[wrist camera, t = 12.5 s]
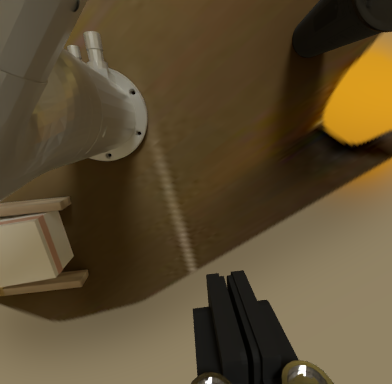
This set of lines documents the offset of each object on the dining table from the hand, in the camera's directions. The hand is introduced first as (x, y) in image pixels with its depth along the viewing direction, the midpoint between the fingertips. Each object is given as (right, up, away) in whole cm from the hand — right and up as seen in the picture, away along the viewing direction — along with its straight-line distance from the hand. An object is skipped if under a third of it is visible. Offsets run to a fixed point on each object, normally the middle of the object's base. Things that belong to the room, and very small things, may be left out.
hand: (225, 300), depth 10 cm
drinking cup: (+14, +26, +22) cm, 37 cm away
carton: (-27, -2, +27) cm, 38 cm away
